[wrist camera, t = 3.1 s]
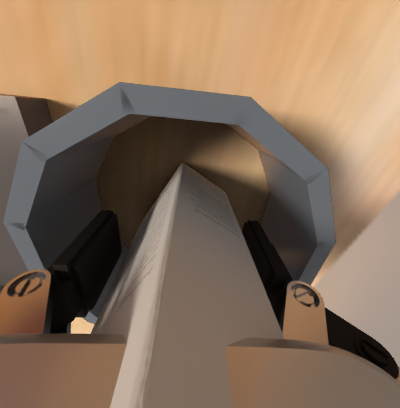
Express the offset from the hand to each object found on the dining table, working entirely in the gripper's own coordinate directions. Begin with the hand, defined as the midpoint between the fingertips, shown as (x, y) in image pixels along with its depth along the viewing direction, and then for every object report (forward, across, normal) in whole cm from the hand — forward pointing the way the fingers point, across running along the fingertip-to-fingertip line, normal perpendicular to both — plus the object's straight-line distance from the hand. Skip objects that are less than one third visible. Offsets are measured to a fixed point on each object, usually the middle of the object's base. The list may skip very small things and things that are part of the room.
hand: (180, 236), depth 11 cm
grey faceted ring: (+4, 0, 0) cm, 4 cm away
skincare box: (+4, 0, 0) cm, 4 cm away
